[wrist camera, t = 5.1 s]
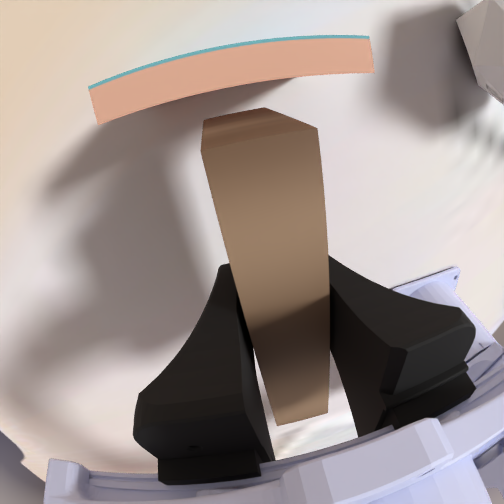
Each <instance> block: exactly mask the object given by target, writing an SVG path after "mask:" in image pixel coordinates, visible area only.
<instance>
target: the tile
mask: <svg viewBox="0 0 504 504" xmlns="http://www.w3.org/2000/svg"><path fill="white" fill-rule="evenodd" d="M344 73H375V72H374V65H373V58H372V51H371V45H370V39H369V36H357V35H317V36H297V37H284V38H273V39H264V40H256V41H249V42H242V43H236V44H230V45H224V46H219V47H214V48H209V49H204V50H200V51H195V52H191V53H187V54H183V55H179V56H175V57H172V58H168V59H164V60H161V61H158V62H154V63H151V64H148V65H145V66H141V67H138V68H135V69H133V70H130V71H127V72H124V73H121V74H118V75H116V76H113V77H111V78H108V79H105V80H103V81H100V82H98V83H96V84H93V85H91V86H88V88H89V92H90V96H91V100H92V104H93V108H94V112H95V115H96V119H97V123H98V125H100V124H103V123H106V122H108V121H111V120H114V119H116V118H119V117H122V116H125V115H128V114H131V113H134V112H137V111H140V110H143V109H146V108H149V107H152V106H156V105H159V104H162V103H166V102H169V101H173V100H177V99H180V98H184V97H188V96H192V95H196V94H200V93H205V92H209V91H214V90H218V89H223V88H228V87H233V86H238V85H244V84H250V83H256V82H262V81H269V80H276V79H284V78H292V77H302V76H313V75H326V74H344Z"/></svg>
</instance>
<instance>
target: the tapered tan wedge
mask: <svg viewBox="0 0 504 504" xmlns="http://www.w3.org/2000/svg"><path fill="white" fill-rule="evenodd" d="M201 155H202V159H203V163H204V167H205V171H206V175H207V179H208V183H209V187H210V190H211V194H212V198H213V202H214V206H215V210H216V214H217V218H218V221H219V225H220V229H221V233H222V236H223V240H224V244H225V248H226V251H227V255H228V259H229V262H230V266H231V270H232V273H233V277H234V281H235V284H236V288H237V292H238V295H239V299H240V302H241V306H242V309H243V313H244V316H245V320H246V323H247V327H248V330H249V334H250V337H251V341H252V344H253V348H254V351H255V355H256V358H257V361H258V365H259V368H260V372H261V375H262V378H263V382H264V385H265V388H266V392H267V395H268V398H269V401H270V405H271V408H272V411H273V415H274V418H275V421H276V424H277V426H280V425H284V424H288V423H293V422H297V421H300V420H304V419H308V418H312V417H315V416H319V415H322V414H326V413H328V398H329V369H330V291H329V261H328V241H327V225H326V210H325V198H324V186H323V175H322V165H321V156H320V147H319V138H318V130H317V128H315V127H313V126H311V125H308V124H306V123H303V122H301V121H299V120H296V119H294V118H291V117H289V116H286V115H283V114H281V113H278V112H275V111H273V110H270V109H267V108H258V109H253V110H248V111H242V112H237V113H233V114H228V115H223V116H219V117H214V118H210V119H206V120H204V121H203V131H202V141H201Z"/></svg>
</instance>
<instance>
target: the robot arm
mask: <svg viewBox="0 0 504 504" xmlns="http://www.w3.org/2000/svg"><path fill="white" fill-rule="evenodd" d="M328 261H329V291H330V351H331V353H332V355H333V357H334V360H335V363H336V366H337V369H338V371H339V374H340V377H341V380H342V383H343V386H344V389H345V392H346V396H347V399H348V402H349V405H350V409H351V412H352V416H353V419H354V423H355V426H356V430H357V434H358V438H356V439H353V440H350V441H347V442H344V443H341V444H338V445H334V446H331V447H328V448H324V449H321V450H317V451H314V452H310V453H306V454H302V455H298V456H294V457H290V458H286V459H281V460H275V456H274V452H273V448H272V444H271V439H270V435H269V431H268V426H267V422H266V418H265V413H264V409H263V404H262V400H261V395H260V390H259V386H258V381H257V376H256V369H255V360H254V350H253V344H252V341H251V337H250V334H249V330H248V327H247V323H246V320H245V316H244V313H243V309H242V306H241V302H240V299H239V295H238V292H237V288H236V284H235V281H234V277H233V273H232V270H231V266H230V263H228V264H224V265H221V266H220V267H219V269H218V273H217V277H216V280H215V284H214V287H213V289H212V292H211V295H210V297H209V300H208V302H207V304H206V307H205V309H204V311H203V313H202V315H201V317H200V319H199V321H198V323H197V325H196V327H195V328H194V330H193V332H192V333H191V335H190V337H189V338H188V340H187V341H186V342H185V344H184V345H183V347H182V348H181V350H180V351H179V352H178V354H177V355H176V356H175V358H174V359H173V360H172V361H171V362H170V363H169V365H168V366H167V367H166V368H165V369H164V370H163V371H162V373H161V374H160V375H159V376H158V377H157V378H156V379H154V380H153V381H152V382H151V383H150V384H149V385H148V386H147V387H146V388H145V389H144V390H143V391H141V392H140V393H139V395H138V400H137V404H136V408H135V415H134V427H133V436H134V439H135V441H136V442H137V443H138V444H139V445H140V446H141V447H143V448H144V449H145V450H147V451H148V452H149V453H151V454H152V455H153V456H155V457H156V458H158V474H134V473H112V472H99V471H89V470H88V469H87V468H86V467H84V466H82V465H80V464H78V463H75V462H72V461H65V460H59V459H52V458H51V459H49V463H48V470H47V477H46V486H45V494H44V504H492V502H491V500H490V497H489V495H488V493H487V490H486V488H498V489H499V491H500V493H501V494H502V496H503V498H504V348H503V347H502V346H501V345H500V344H499V343H498V342H497V341H496V340H495V339H494V338H493V336H492V335H491V334H490V333H489V331H488V330H487V329H486V328H485V326H484V325H483V324H482V323H481V321H480V320H479V319H478V318H477V317H476V315H475V314H474V313H473V312H472V311H471V310H470V308H469V307H468V306H467V305H466V304H465V303H464V302H463V300H462V299H461V298H460V297H459V296H458V295H457V294H456V293H455V289H456V285H457V282H458V278H459V274H460V268H459V267H454V268H451V269H448V270H446V271H443V272H440V273H437V274H434V275H432V276H429V277H426V278H423V279H420V280H417V281H414V282H411V283H408V284H405V285H402V286H399V287H396V288H394V289H393V290H390V289H388V288H386V287H383V286H381V285H379V284H377V283H375V282H372V281H370V280H368V279H366V278H365V277H363V276H361V275H359V274H357V273H356V272H354V271H352V270H351V269H349V268H347V267H346V266H344V265H343V264H341V263H339V262H338V261H336V260H335V259H334V258H332V257H331V256H329V255H328Z"/></svg>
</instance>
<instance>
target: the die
mask: <svg viewBox="0 0 504 504" xmlns="http://www.w3.org/2000/svg"><path fill="white" fill-rule="evenodd" d="M456 22H457V25H458V27H459V30H460V32H461V35H462V37H463V40H464V43H465V46H466V48H467V51H468V54H469V57H470V60H471V63H472V67H473V70H474V73H475V76H476V80H477V83H478V86H480V87H481V88H482V89H484V90H485V91H486V92H488V93H489V94H490V95H492V96H493V97H494V98H496V99H497V100H498V101H499V102H501V103H502V104H503V105H504V0H483V1H481V2H480V3H479V4H477V5H476V6H474V7H473V8H472V9H470V10H469V11H467V12H466V13H465V14H463V15H462V16H461V17H459V18H458V19H457V20H456Z"/></svg>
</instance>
